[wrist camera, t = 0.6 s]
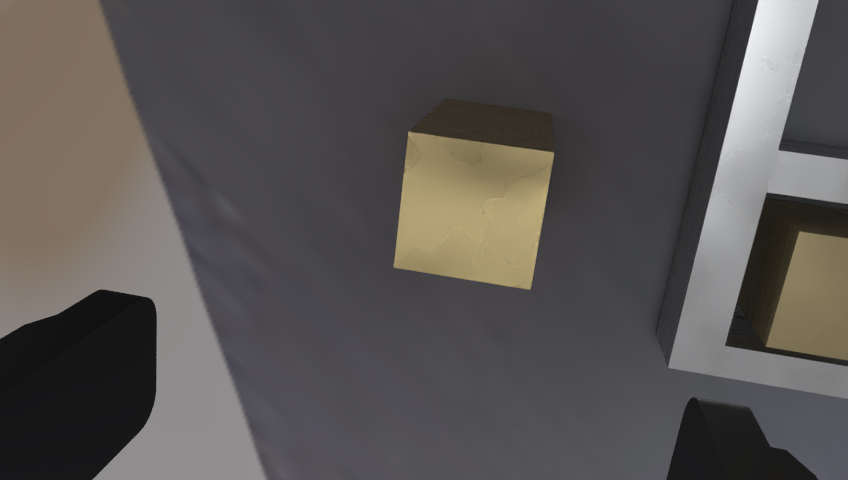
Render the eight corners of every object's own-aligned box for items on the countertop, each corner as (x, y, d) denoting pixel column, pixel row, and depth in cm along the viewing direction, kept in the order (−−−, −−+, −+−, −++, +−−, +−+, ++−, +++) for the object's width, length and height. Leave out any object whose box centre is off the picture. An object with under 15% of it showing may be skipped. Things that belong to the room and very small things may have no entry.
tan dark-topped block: (445, 98, 28) (408, 131, 20) (551, 113, 27) (554, 152, 20) (432, 200, 29) (393, 267, 21) (533, 215, 28) (530, 289, 21)
